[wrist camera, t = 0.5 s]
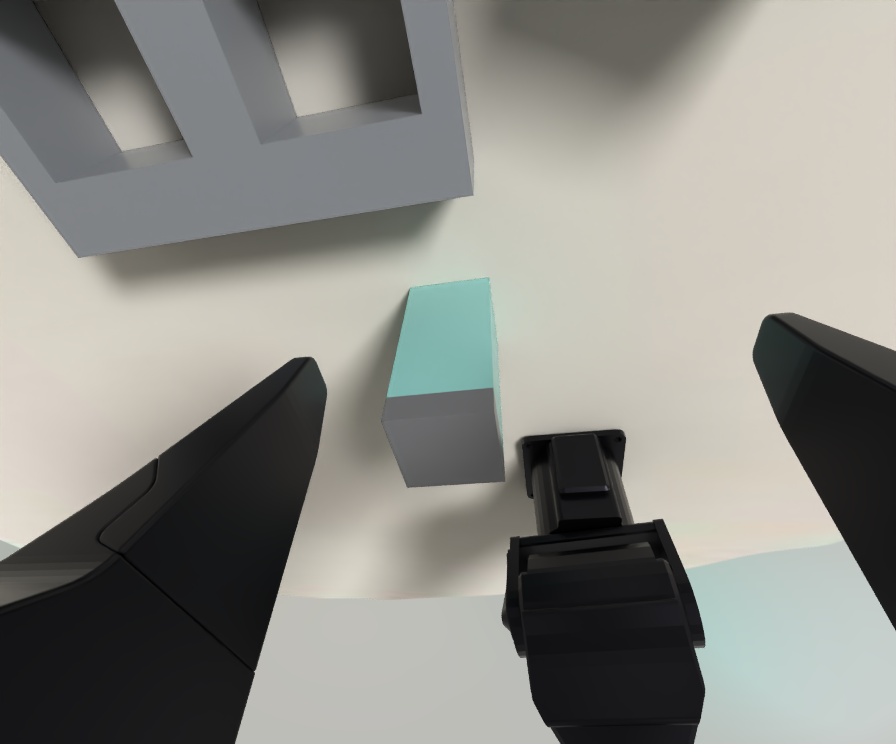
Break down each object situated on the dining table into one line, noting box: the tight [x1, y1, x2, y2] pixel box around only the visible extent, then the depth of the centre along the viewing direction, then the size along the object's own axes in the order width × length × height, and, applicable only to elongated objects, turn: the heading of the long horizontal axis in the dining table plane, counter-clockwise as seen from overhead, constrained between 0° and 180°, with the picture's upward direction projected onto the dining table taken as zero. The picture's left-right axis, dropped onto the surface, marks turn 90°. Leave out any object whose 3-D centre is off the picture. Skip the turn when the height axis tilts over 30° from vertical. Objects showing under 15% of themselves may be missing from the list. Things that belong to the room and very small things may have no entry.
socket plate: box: [0, 0, 474, 258], centre depth 15 cm, size 11×16×4 cm
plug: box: [381, 278, 505, 488], centre depth 20 cm, size 4×4×9 cm
